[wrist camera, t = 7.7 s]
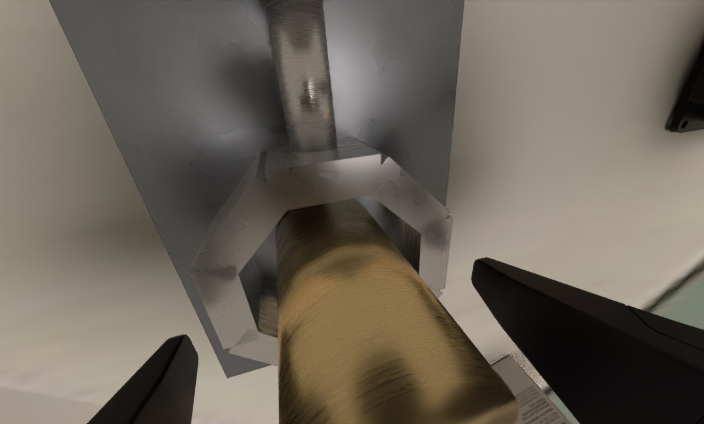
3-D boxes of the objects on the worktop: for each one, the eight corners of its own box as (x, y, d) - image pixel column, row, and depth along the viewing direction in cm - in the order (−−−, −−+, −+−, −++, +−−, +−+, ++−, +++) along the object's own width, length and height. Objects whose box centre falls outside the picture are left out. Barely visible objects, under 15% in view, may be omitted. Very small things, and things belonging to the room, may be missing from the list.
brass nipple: (372, 185, 11) (544, 347, 4) (375, 267, 13) (496, 474, 6) (265, 203, 10) (247, 453, 3) (286, 289, 12) (304, 564, 5)
